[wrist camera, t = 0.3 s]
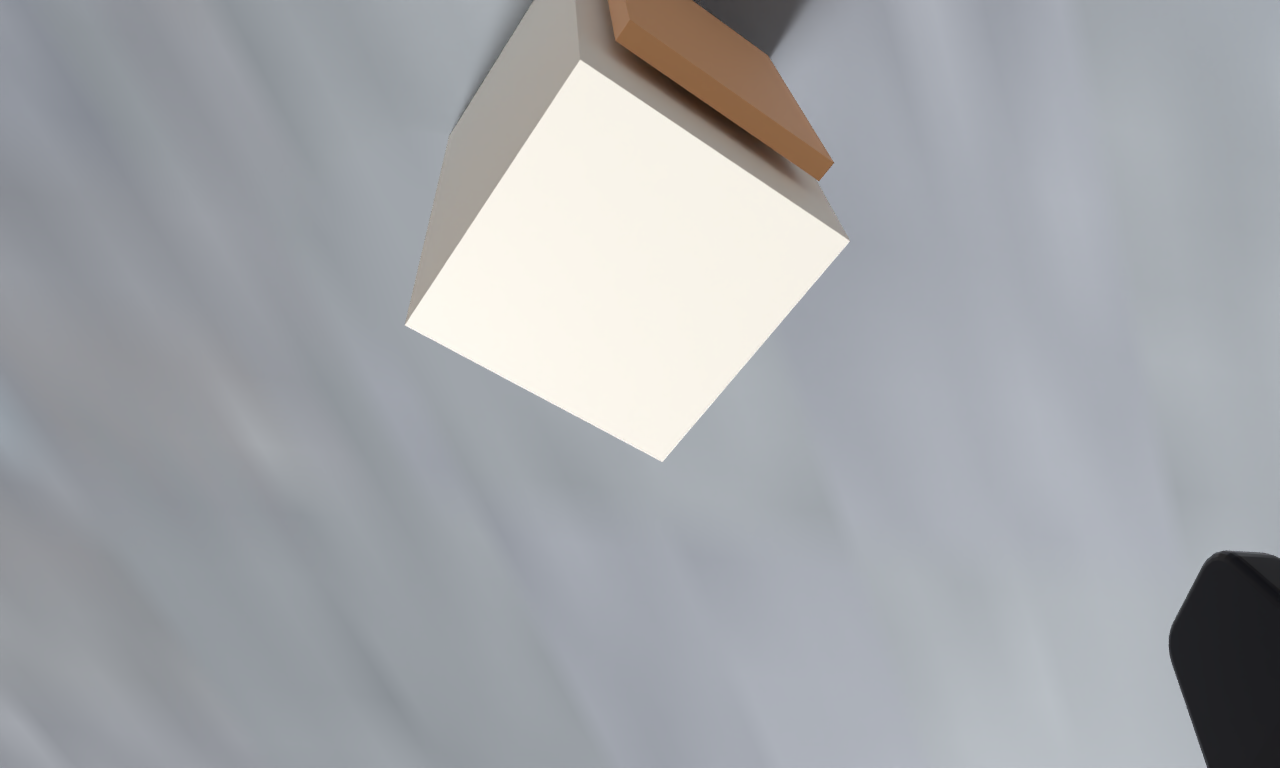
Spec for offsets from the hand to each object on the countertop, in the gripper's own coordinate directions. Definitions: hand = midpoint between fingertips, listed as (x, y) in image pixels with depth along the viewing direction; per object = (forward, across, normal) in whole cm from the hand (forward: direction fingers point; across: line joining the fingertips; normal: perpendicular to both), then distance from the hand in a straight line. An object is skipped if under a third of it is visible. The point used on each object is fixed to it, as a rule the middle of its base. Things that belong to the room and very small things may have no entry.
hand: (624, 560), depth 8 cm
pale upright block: (+13, 0, +1) cm, 13 cm away
